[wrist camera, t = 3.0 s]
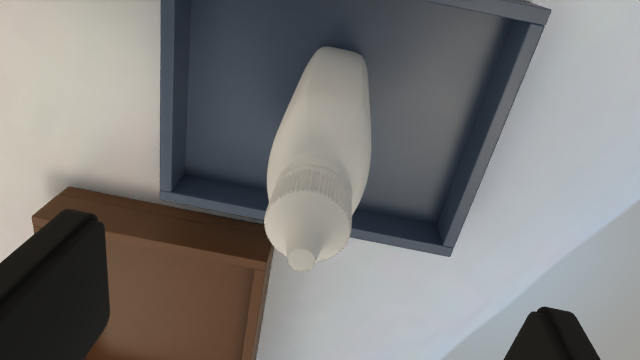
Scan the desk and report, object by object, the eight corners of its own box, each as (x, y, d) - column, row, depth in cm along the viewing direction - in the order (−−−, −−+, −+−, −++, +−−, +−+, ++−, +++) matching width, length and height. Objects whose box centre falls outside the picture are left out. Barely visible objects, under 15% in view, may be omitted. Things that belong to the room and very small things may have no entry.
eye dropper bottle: (404, 91, 21) (449, 242, 10) (327, 169, 23) (298, 359, 12) (334, 28, 20) (304, 124, 9) (260, 116, 22) (168, 275, 11)
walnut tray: (67, 185, 25) (31, 216, 22) (277, 227, 25) (267, 262, 22) (87, 362, 32) (61, 401, 30) (250, 393, 32) (239, 435, 30)
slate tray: (181, -70, 18) (160, -71, 17) (532, 3, 19) (552, 9, 17) (175, 180, 24) (159, 200, 22) (443, 232, 25) (450, 257, 23)
